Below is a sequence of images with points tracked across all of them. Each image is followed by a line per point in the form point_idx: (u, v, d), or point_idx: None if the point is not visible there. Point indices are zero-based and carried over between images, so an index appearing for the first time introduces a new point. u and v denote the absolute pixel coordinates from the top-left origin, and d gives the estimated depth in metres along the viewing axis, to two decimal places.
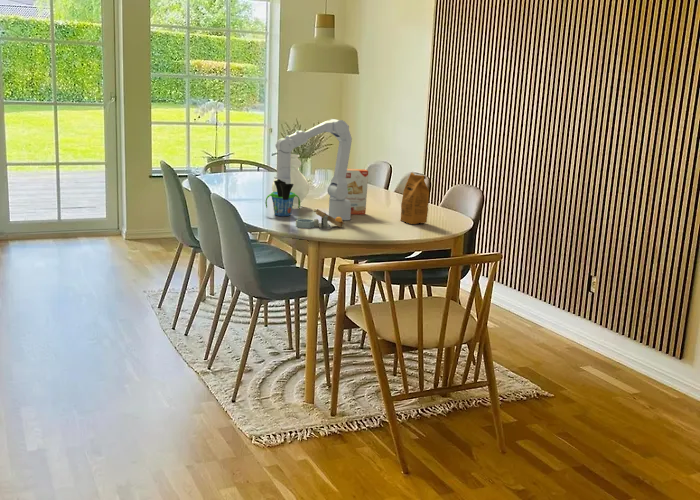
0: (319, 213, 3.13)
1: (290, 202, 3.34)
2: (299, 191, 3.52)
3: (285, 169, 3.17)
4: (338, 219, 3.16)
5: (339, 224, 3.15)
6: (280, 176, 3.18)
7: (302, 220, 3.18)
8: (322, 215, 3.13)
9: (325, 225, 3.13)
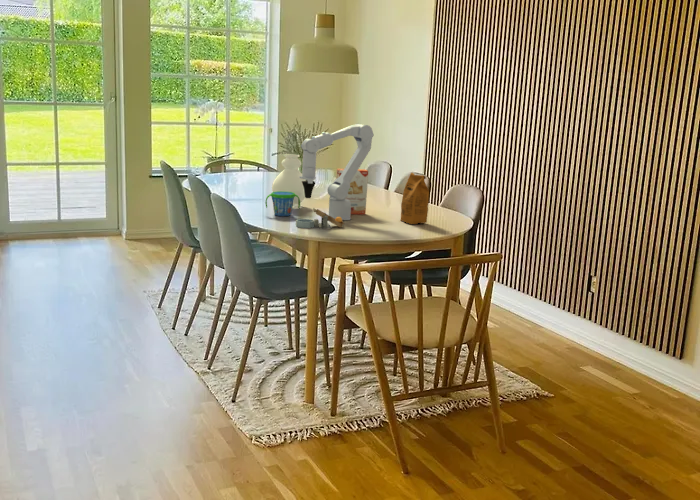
0: (319, 213, 3.13)
1: (290, 202, 3.34)
2: (299, 191, 3.52)
3: (309, 169, 3.22)
4: (338, 219, 3.16)
5: (339, 224, 3.15)
6: (304, 176, 3.23)
7: (302, 220, 3.18)
8: (322, 215, 3.13)
9: (325, 225, 3.13)
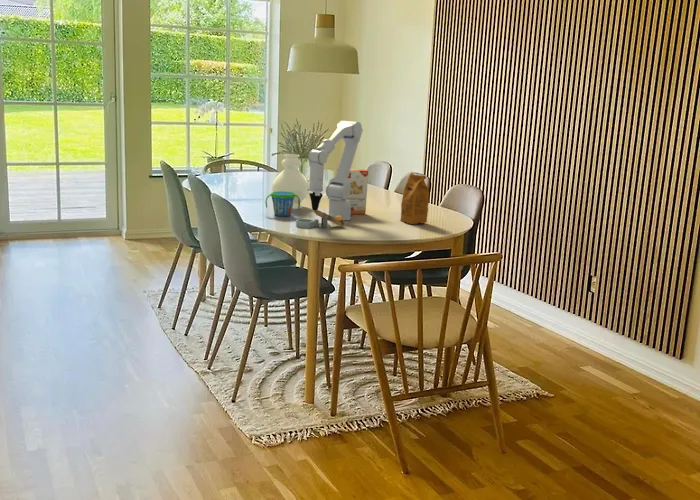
0: (319, 213, 3.13)
1: (290, 202, 3.34)
2: (299, 191, 3.52)
3: (316, 181, 3.16)
4: (338, 218, 3.16)
5: (339, 223, 3.15)
6: (311, 188, 3.17)
7: (302, 220, 3.18)
8: (322, 215, 3.14)
9: (325, 225, 3.13)
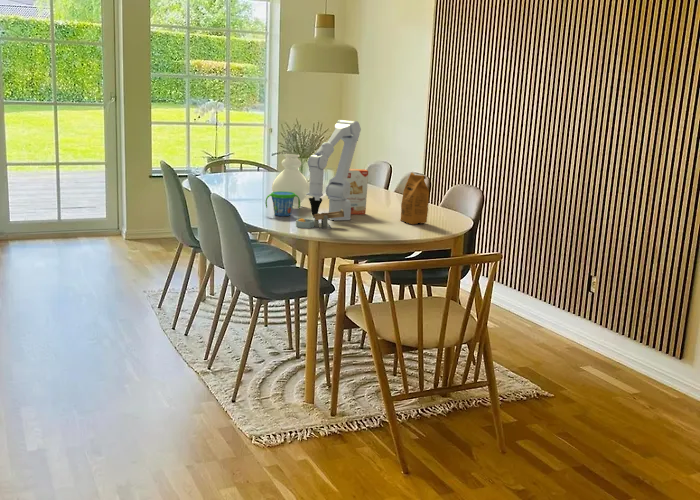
0: (317, 217, 3.13)
1: (290, 202, 3.34)
2: (299, 191, 3.52)
3: (316, 186, 3.16)
4: (303, 221, 3.14)
5: (340, 214, 3.15)
6: (311, 192, 3.18)
7: None
8: (321, 217, 3.14)
9: (325, 225, 3.13)
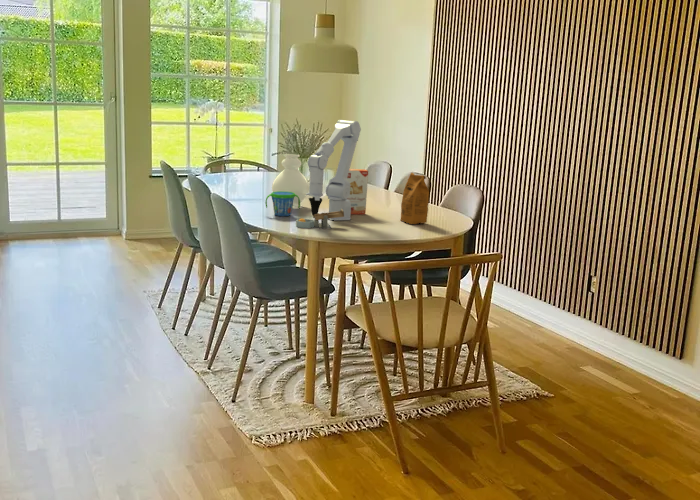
0: (317, 217, 3.13)
1: (290, 202, 3.34)
2: (299, 191, 3.52)
3: (316, 186, 3.16)
4: (303, 221, 3.14)
5: (340, 214, 3.15)
6: (311, 192, 3.18)
7: None
8: (321, 217, 3.14)
9: (325, 225, 3.13)
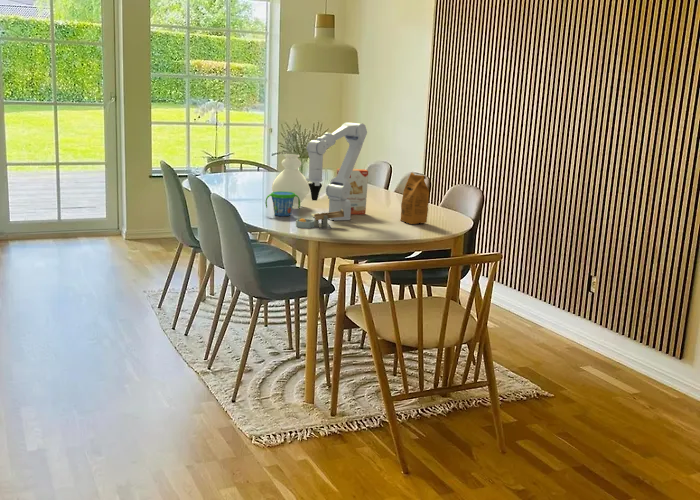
0: (317, 217, 3.13)
1: (290, 202, 3.34)
2: (299, 191, 3.52)
3: (316, 171, 3.17)
4: (304, 221, 3.14)
5: (340, 214, 3.15)
6: (311, 178, 3.18)
7: None
8: (321, 217, 3.14)
9: (325, 225, 3.13)
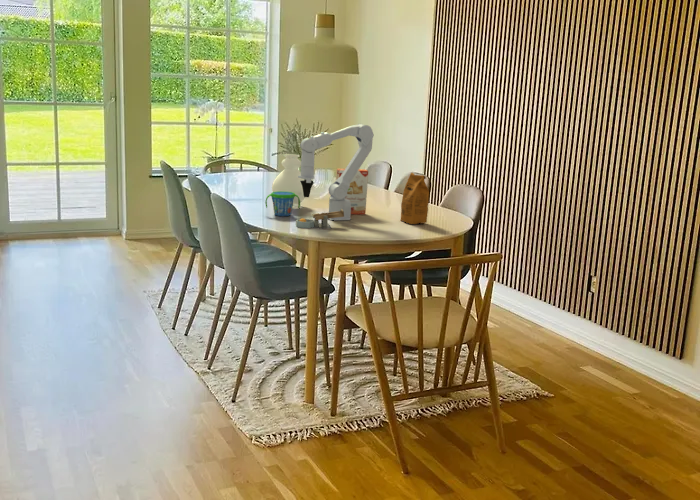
0: (317, 217, 3.13)
1: (290, 202, 3.34)
2: (299, 191, 3.52)
3: (307, 168, 3.24)
4: None
5: (340, 214, 3.15)
6: (303, 175, 3.25)
7: None
8: (321, 217, 3.14)
9: (325, 225, 3.13)
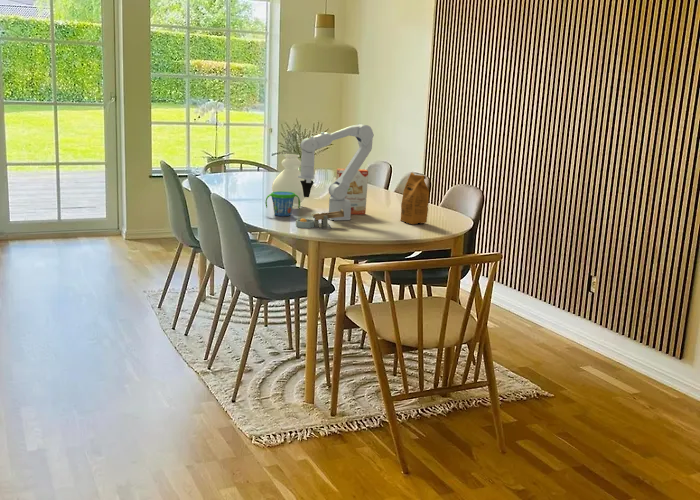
0: (317, 217, 3.13)
1: (290, 202, 3.34)
2: (299, 191, 3.52)
3: (307, 168, 3.24)
4: None
5: (340, 214, 3.15)
6: (303, 175, 3.25)
7: None
8: (321, 217, 3.14)
9: (325, 225, 3.13)
